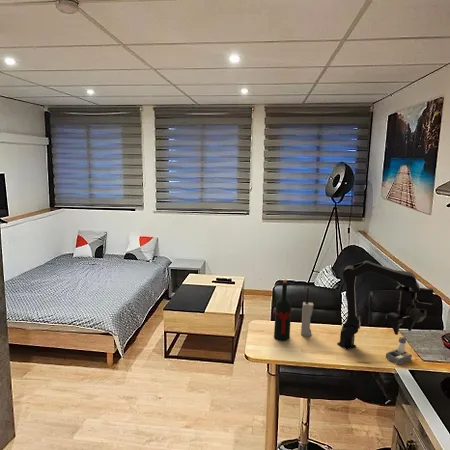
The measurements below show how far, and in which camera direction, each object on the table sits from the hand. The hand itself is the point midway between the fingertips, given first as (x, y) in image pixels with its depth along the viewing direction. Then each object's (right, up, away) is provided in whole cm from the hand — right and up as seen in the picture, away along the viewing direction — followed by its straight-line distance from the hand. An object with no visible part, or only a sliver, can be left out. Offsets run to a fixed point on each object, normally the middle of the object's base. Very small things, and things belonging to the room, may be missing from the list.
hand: (402, 332), depth 176 cm
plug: (0, -12, +2) cm, 12 cm away
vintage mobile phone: (-40, -7, +22) cm, 46 cm away
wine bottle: (-53, -8, +17) cm, 56 cm away
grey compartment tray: (-2, -12, 0) cm, 12 cm away
